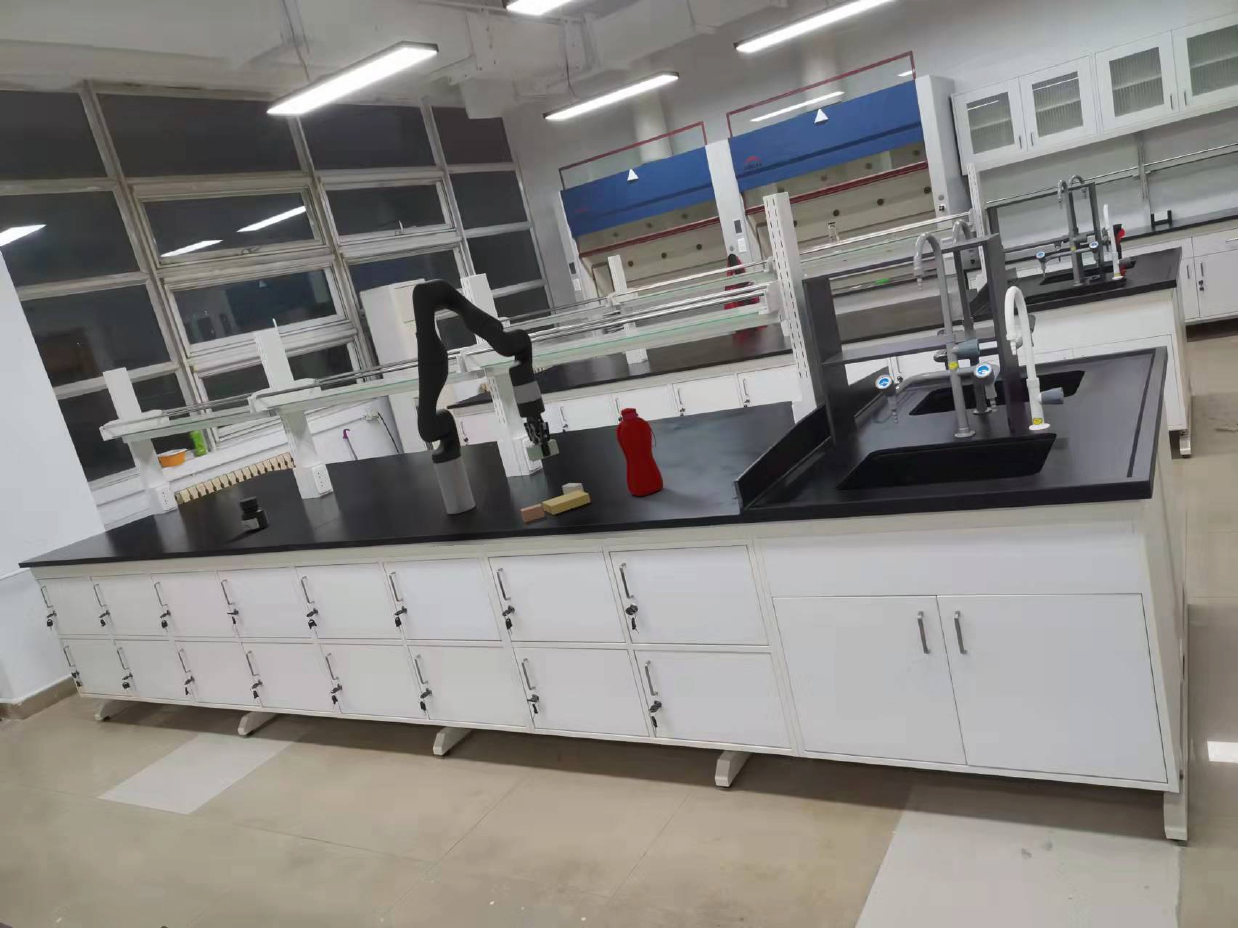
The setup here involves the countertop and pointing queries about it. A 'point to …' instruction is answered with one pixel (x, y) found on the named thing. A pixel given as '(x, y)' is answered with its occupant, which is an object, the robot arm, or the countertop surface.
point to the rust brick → (532, 512)
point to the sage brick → (536, 451)
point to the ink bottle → (252, 514)
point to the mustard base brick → (566, 502)
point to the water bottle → (638, 454)
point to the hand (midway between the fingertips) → (544, 455)
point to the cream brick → (572, 487)
